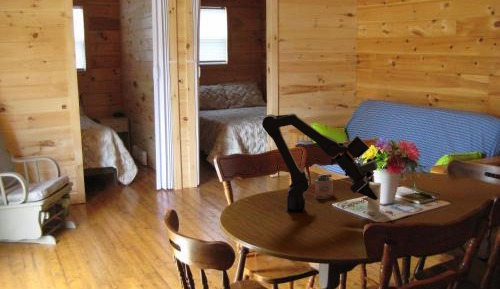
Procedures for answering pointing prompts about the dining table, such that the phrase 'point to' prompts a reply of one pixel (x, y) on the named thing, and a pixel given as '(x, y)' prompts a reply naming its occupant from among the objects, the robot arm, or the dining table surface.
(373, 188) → the block
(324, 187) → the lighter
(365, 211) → the plinth
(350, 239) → the dining table surface
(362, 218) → the dining table surface
